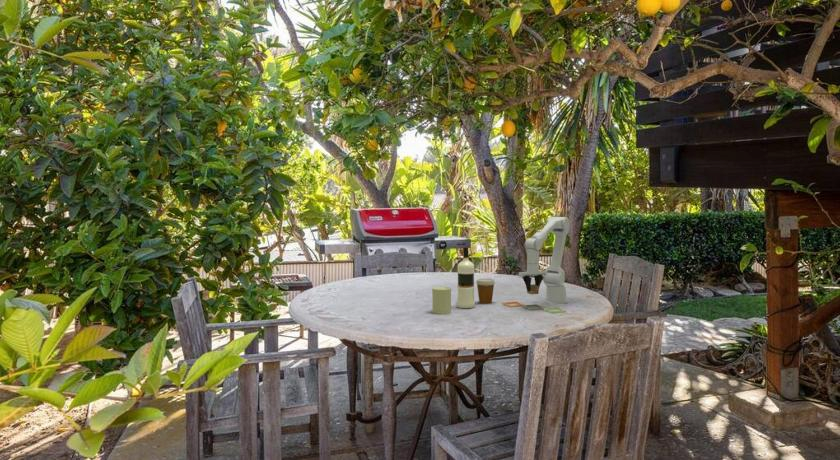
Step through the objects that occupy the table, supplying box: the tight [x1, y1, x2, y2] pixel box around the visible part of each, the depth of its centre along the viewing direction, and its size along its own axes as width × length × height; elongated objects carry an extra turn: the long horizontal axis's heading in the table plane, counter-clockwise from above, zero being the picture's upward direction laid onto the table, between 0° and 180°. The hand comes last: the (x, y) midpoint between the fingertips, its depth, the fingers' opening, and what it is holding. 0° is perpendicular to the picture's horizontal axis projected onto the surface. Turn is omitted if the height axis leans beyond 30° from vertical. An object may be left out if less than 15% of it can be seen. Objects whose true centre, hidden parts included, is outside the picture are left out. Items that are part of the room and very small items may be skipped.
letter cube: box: [526, 283, 540, 295], centre depth 283 cm, size 4×4×4 cm
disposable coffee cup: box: [475, 278, 496, 305], centre depth 298 cm, size 10×10×12 cm
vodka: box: [456, 246, 476, 310], centre depth 288 cm, size 9×9×30 cm
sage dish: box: [542, 306, 567, 315], centre depth 277 cm, size 8×8×1 cm
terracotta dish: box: [501, 301, 525, 308], centre depth 291 cm, size 8×8×1 cm
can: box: [431, 286, 452, 315], centre depth 278 cm, size 9×9×12 cm
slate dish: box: [521, 303, 546, 311], centre depth 284 cm, size 8×8×1 cm
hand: (532, 290), depth 283 cm, fingers closed on letter cube, 4 cm apart
